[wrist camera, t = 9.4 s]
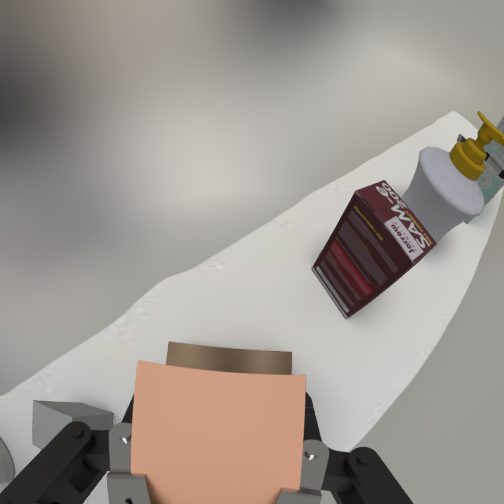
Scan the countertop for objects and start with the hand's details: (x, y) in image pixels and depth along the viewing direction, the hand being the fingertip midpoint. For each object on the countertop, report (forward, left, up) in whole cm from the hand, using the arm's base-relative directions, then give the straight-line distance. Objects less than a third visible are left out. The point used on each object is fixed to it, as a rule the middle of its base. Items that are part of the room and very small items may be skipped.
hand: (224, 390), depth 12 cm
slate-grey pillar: (-16, -8, -19) cm, 26 cm away
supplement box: (+14, +14, -19) cm, 28 cm away
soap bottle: (+29, +25, -19) cm, 43 cm away
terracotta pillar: (0, -2, -5) cm, 5 cm away
